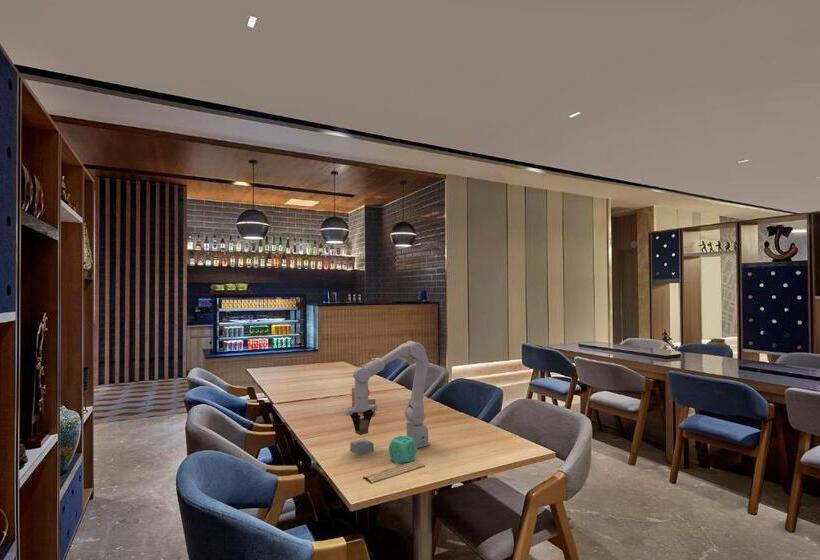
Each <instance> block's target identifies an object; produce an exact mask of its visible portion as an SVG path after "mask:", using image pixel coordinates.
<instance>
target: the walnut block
mask: <svg viewBox="0 0 820 560" xmlns="http://www.w3.org/2000/svg"><path fill="white" fill-rule="evenodd" d="M354 433H355V434H357V435H359V436H363V435H367V434H369V428H368V420H367V419H365V418H364V417H360V421H359V431H355V430H354Z"/></svg>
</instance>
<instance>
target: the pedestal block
mask: <svg viewBox="0 0 820 560" xmlns="http://www.w3.org/2000/svg"><path fill="white" fill-rule="evenodd" d="M349 446H350V447H349V448H350V451H351V452H353V453H354V454H356V455H359V456H360V455H363V454H368V453H371V452H374V451H375V450H374V449H375V446H374V442H372V441H371V440H368V439H366V438H362V439H358V440H354V441H350V445H349Z"/></svg>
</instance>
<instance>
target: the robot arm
mask: <svg viewBox="0 0 820 560" xmlns="http://www.w3.org/2000/svg"><path fill="white" fill-rule="evenodd" d="M400 357H411V359H413V361H414V362H415V363H416V364H415V370H414V375H413V383H412V390H411V395H410V399H409V400H408V402H407V406H406V408H405V410H404V416H405V417H406V418H407V419H406V436H409V437H411V438H412V439H413V440H414V441H415V443H416V446H417V449H419V448H422V447H423V448H424V447H426V446H429V445H431V444H430V442H429V429H428V427H427V426H425V424H424V422H425V421H424V420H425V419H426V416H425V406H424V403H423V402H424V401H423V400H424V395H425V394H424V393H425V388H426V387H425V386H426V383H427V382H426V381H427V376H428V375H427V373H428V369H429V358H428V355H427V352H426V348H425V346H423V344H421V342H417V341H413V340H408V341H406V342H404V343H401V344H400V345H399V346H397V347H395V348H394V349H393V350H391V351H390V352H388V353H387V354H385V355H384V356H382V357H373V358H371V360H370V361H369V362H367V363H364V364H362V365H361V367H357V368H355V370H354V371H353V374H352V377H353V378H354V387H355V407H353V408H352V407H351V408H347V409H345V410H344V413H345V416H349V417H350V419H351V421H352V423H353V424H352V425H353V426H354V432H355V431H359V421H360V418H361V414H360V412H363V415H362V416H363V418H365V419H367V420H368V429H369V428H370V422H371V420H372V417H374V416H373V414H374V412H373V411H372V410H375V411H376V410H378V404H372V405H368V390H369V380H370V378H371V377H373V376H375V375H377V374H378V373H380V372H381V371H383V370H384V369H385V367H386V365H387V364H389V363H391V362H393V361H395V360H396V359H398V358H400Z"/></svg>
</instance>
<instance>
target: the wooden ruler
mask: <svg viewBox="0 0 820 560" xmlns="http://www.w3.org/2000/svg"><path fill="white" fill-rule="evenodd" d="M425 467H426V464H425V463H424V462H422V461H421V460H412V461H411V462H409V463H403V464H400V465H397V466H394V467H391V468H388V469H387V468H386V469H384V470H381V471H377V472H374V473H371V474H368V475H365V476H362V479H368V480H369V481H370V483H371V485H372V484H376V483H378V482H381V481H385V480H387V479H391V478H394V477H397V476H400V475H403V474H406V473H410V472H413V471H416V470H420V469H422V468H425Z"/></svg>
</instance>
